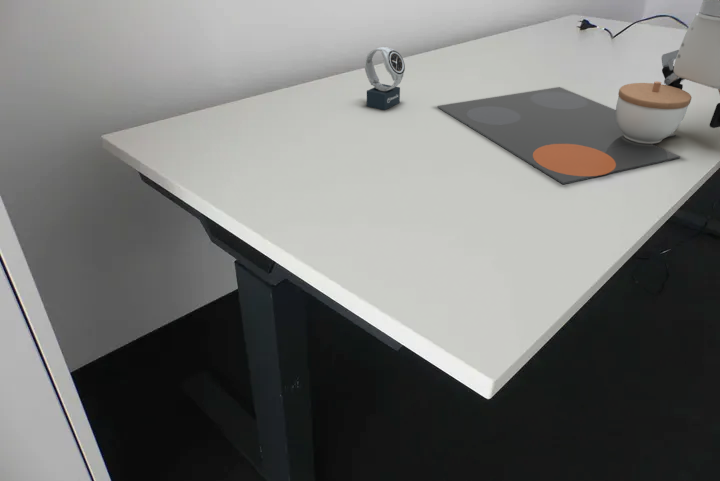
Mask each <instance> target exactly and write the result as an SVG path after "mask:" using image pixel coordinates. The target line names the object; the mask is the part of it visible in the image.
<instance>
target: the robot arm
mask: <svg viewBox="0 0 720 481" xmlns="http://www.w3.org/2000/svg"><path fill="white" fill-rule="evenodd" d="M661 65H662V66H661V67H662V69H661V73H662V75H663V77H664V78H663V79H664V80H663V85H667V86H672V87H676V88H679V89H681V90H683V88H684V84H682V82H683V81H685V80H686V81H690V82H692V83H695V84H699V85H702V86H706V87H708V88H712V89H716V90H717V91H718V94H719V95H720V0H702V3H701V6H700V9H699V12H698V13H695V15H694V17H693V18H692V20H691V22H690V24H689V26H688V28H687V30H686V31H685V33H684V36H683V39H682V41H681V44H680V46H679V49H677V50H673V51H670V52H666V53H664V54H662V55H661ZM708 125H709V127H710V128H711V129H715V128H720V102H718V103H716V106H715V109H714V110H713V113H712V116H711V119H710V122H709V124H708Z"/></svg>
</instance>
